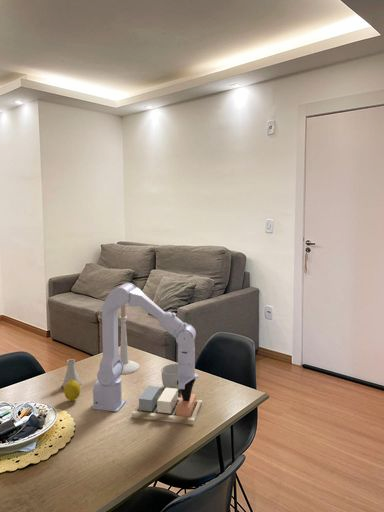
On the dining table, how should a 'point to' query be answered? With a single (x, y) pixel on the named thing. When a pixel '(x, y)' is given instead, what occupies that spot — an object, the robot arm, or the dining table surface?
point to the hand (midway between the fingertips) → (186, 400)
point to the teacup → (170, 376)
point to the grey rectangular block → (149, 398)
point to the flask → (71, 373)
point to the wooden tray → (168, 417)
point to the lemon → (72, 390)
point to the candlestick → (127, 364)
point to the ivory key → (167, 400)
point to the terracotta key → (186, 406)
